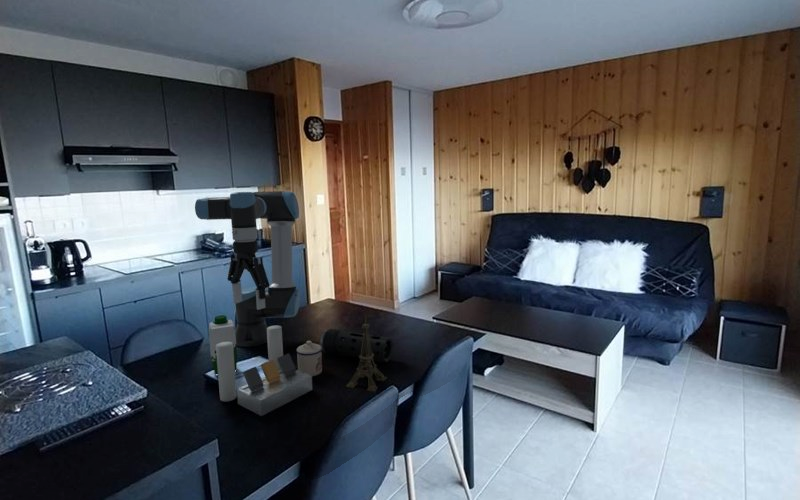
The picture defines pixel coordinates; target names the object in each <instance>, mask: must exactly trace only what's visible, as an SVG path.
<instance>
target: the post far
mask: <svg viewBox="0 0 800 500" xmlns="http://www.w3.org/2000/svg"><path fill="white" fill-rule="evenodd" d="M267 327H268V328H267V341H268V342H267V354H268V356H267V357H268V362H269V361H271V360H273V361H274V363H275V365H276V367H277V370H278V371H279V370H282V369H281V367H280V364H279V362H278V360H277V359H278V358H279V357H281V356H284V346H283V330H282V329H283V328H282V326H281V325H270V326H267Z"/></svg>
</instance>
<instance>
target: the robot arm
mask: <svg viewBox="0 0 800 500" xmlns="http://www.w3.org/2000/svg"><path fill="white" fill-rule="evenodd" d="M194 212H195V214H196V215H195V216H196V217H197V218H198V219H199V220H206V221H209V220H210V221H212V220H231V233H232V234H231V235H232V236H231V237H232V240H233V242H232V249H233V251H232V252H233V253H231V254H230V264H229V268H228V273H227V274H228V275H227V281H228V282H230V284H232V285H231V286H232V287H231V288H232V296H233V297H232V298H233V304H235V314H236V315H235V316H236V317H235V318H236V327H235V332H236V333H235V335H236V347H242V348H243V347H244V348H249V347H257V346H258V347H259V346H261V345H264V344H266V343H267V344H268V341H267V328H268V327H269V326H268V325H267V323H266V319H268V318H269V319H271V318H284V319H286V318H295V316H296V315H297V313H298V311H299V308H300V303H301V290H299V289H297V285H296V284H295V283H294V282H293V247H292V246H293V245H292V244H293V242H292V241H293V238H292V237H293V235H292V234H293V233H292V232H293V231H292V229H293V226H294V225H295V223H296V219H299V217H300V208H299V202H298V198H297V196H296V194H295V193H294V192H293V191H285V190H281V191H279V190H274V191H272V190H271V191H232V192H231V193H230V194H229V196H217V197H215V196H212V197H210V196H206V197H198V198H197V199H196V200H195V204H194ZM258 219H262V220H263V219H264V220H266V222H267V224H268V225H269V226H270V242H271V243H270V244H271V247H270V249H271V250H270V253H271V254H270V255H271V262H270V263H271V282H269V279H268V276H267V272H266V269H265V267H264V260H263V256H259V257H256V253H257V252H258V251H259V245H258V240H257V239H258V229H257V228H258V226H257V220H258ZM245 270H246V271H247V272H248V273H249V274H250V277H251V278H252V280H253V283H254V285H255V286H250V287H249V286H248V287H246V288H243V289H242V280H241V278H242V276H243V274H244V271H245ZM266 289H267V290H266Z"/></svg>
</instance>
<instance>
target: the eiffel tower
mask: <svg viewBox="0 0 800 500" xmlns="http://www.w3.org/2000/svg"><path fill="white" fill-rule="evenodd" d="M364 321H365V322H364V323H363V324H362V325H361V326H362V327H361V328H362V329H363V332H362V334H363V342H362V350H361V355H359V358H360V359H359V358H358V359H359V364H358V366H357V368H356V371H355V372H354V374H353V376H352V377H351V379H350V381H349V383H347V384H346V385H345V387H346V388H347V387H348V388H351V389H352V388H353V389H354V388H355V387H356V386H357V385H358V380H359V378H363V379H364V378H365V377H367V379H368V381H367V382H368V383H367V384H368V387H367V389H366V391H369V392H374V393H375V392H376V391H377V390H378V388H379V387H378V386H377V384H376V382H375V381H374V379H373V374H374V376H375V377H376V381H380V382H385V381H386V380H387V379H388V377H387V376H385V375H384V374H383V373H382V371H381V370H380V369H378V367H377V364H376V362H375V361H374V360H373V356H374V354H373V353H372V352H371V346H370V339H369V335H370V333H369V328H370V327H371V326H370V324H369V323H367V316H366V312H365V318H364Z"/></svg>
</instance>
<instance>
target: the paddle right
mask: <svg viewBox="0 0 800 500" xmlns="http://www.w3.org/2000/svg"><path fill="white" fill-rule="evenodd" d="M277 360H278V362H279V364H280V367H281V369H282V371H283V373H284V375H285V376H288V375H290V374H292V373H295V372H296V370H297V369H296V365H295V364H294V361H293V359H292V357H291V354H290V353H286V354H283V356H281V357H279V358H278V359H277Z"/></svg>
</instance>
